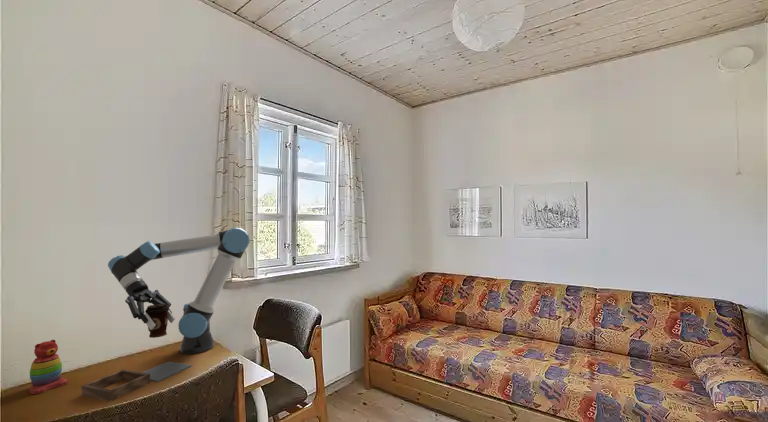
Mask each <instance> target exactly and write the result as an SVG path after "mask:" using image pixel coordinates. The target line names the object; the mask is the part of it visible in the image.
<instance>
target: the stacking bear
mask: <svg viewBox="0 0 768 422" xmlns="http://www.w3.org/2000/svg"><path fill="white" fill-rule="evenodd" d="M33 350H34V352H33V353H34V355H35V357H36V358H34V360H33V361H32V362H31V364H30V370H29V379H30V381H31V384H32V385H31V386H30V387H29V393H30V394H31V395H39V394H42V393H44V392H47V391H48V390H52V389H54V388H60V387H63V386H65V385H67V384H68V382H69V381H68V380H67V379H66V378H64V377H61V374H62V371H63V370H62V369H63V364H62V363H63V362H62V361H61V357H60V356H59V354H58V350H59V346H58V343H56V340H55V339H51V340H48V341H43V342H41V343H36V344H35V345H34V349H33Z"/></svg>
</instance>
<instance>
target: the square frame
mask: <svg viewBox="0 0 768 422" xmlns="http://www.w3.org/2000/svg"><path fill="white" fill-rule="evenodd" d="M142 372H143V371H142ZM142 372H140V371H135V370H129V369H122V370H121V369H120V370H119V371H116V372H114V373H111V374H109V375H106V376H103V377H101V378H98V379H96V380H93V381H91V382H88V383H86V384H84V385H81V386H80V387H81V388H80V389H81V391H80V392H81V393H80V394H81V396H82V397H85V398H91V399H95V400H100V401H104V402H105V401H106V402H111V400H112V401H115V400H117V399H118V398H120V397H119V396H121V397H122V395H123V396H125V395H127V394H129V393H131V392H133V391H136V390H137V389H139V388H140V389H141V388H142V387H144V386H146V384H147V385H148V384H150V383H151V381H150V374H148V373H142ZM120 381H127V382H126V383H123V384H120V385H119V386H116V387H113V388H112V389H110V388H109V389H108V388H106V387H108V386H110V385H114V384H115V383H117V382H120ZM117 397H118V398H117Z"/></svg>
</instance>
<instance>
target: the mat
mask: <svg viewBox="0 0 768 422" xmlns="http://www.w3.org/2000/svg"><path fill="white" fill-rule="evenodd" d="M191 367H192V364H189V363H181V362H175V361H174V362H173V361H165V362H164V363H161V364H158V365H156V366H154V367H152V368H150V369H147V370H145V371H142V373H148V374H150V382H155V383H159V382H161V381H162V380H163V381H164V380H165V379H168V378H169V377H171V376H173V375H175V374H178V373H179V372H182V371H185V370H186V369H188V368H191Z"/></svg>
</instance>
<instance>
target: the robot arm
mask: <svg viewBox="0 0 768 422" xmlns="http://www.w3.org/2000/svg"><path fill="white" fill-rule="evenodd" d="M249 244H250V236H249V233H248V232H247V231H246V230H245V229H243V228H240V227H232V228H230V229H226V230H222V231H218V232H217V233H214V234H211V235H210V234H209V235H204V236H197V237H189V238H183V239H178V240H177V239H176V240H170V241H164V242H163V241H162V242H159V243H154V242H152V241H149V240H148V241H146V242H144V243H142V244H141V245H140V246H139V247H137V248H135V249H134V250H133V251H131V252H130V253H129V254H128V255H123V254H122V255H121V254H119V255H116V256H115V257H112V258H111V259H110V260H109V261H108V264H107V266H108V269H109V270H110V272H111V274H112V275H113V276H114V277H115V279H116V280H117V281H118V283H119V285H120V286H121V287H122V288H123V290H125V292H126V294H127V295H128V296H127V297H126V299H125V303H126V304H127V305H128V308H129V310H130V313H131V315H132V317H133V318H134V319H138V320H141V321H142V322H143V324H146V325H147V328H148V327H149V328H150V330H152V329H153V328H154V327H155V323H154V322H153V321H152V319H151V318H150V317H149V315H148V314H147V313H146V312H145V305H144V303H148V304H151V305H157V304H167V307H169V311H168V322H169V323H170V324H173V322H174V321H175V320H176V317H175V316H174V314H173V311H172V310H171V309H170V307H171V305H172V303H171V302H170V301H169V300H167V299H166V297H164V296H163V295H162V294H161V293H160V291H159V290H158V289H155V291H152V290H150V289H149V286H148V284H147V283H146V281H145V280H144V279H143V278H142V277H141V275H140V274H139V272H138V271H137V270H139V269H140V268H141V267H143V266H144V265H146V264H147V263H149V262H151V261H153V260H159V259H164V258H171V257H177V256H181V255H182V256H183V255H189V254H196V253H201V252H207V251H214V250H217V253H218V254H217V256H216V258H215V260H214V261H213V264H212V266H211V268H210V270H209V271H208V273H207V276H206V277H205V279H204V281H203V283H202V286H201V287H200V289H199V291H198V292H197V295H196V297H195V299H193V301H190V302H189V303H186V304H183V308H182V311H183V315H182V316H181V317H180V319H179V321H178V325H177V326H178V331H179V333H180V334H181V335H182V336H183V337H182V340H181V341H182V342H181V344H180V347H179V349H180V350H179V351H180V353H181V354H187V355H191V354H192V355H193V354H199V353H203V352H206V351H209V350H212V349H213V348H215V347H214V346H215V340H214V338H213V336H212V333H211V319H212V317H213V314H214V312H215V311H214V305H215V303H216V302H217V299H218V298H219V296H220V293H221V291H222V289H223V288H224V285H225V283H226V281H227V279H228V277H229V275H230V273H231V271H232V269H233V267H234V266H235V263H236V262H237V261H239V260H241V258H242V256H243V254H244V252H245V250H246V249H247V248H248V247H249Z"/></svg>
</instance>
